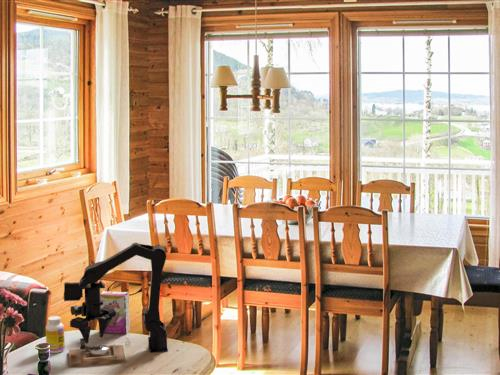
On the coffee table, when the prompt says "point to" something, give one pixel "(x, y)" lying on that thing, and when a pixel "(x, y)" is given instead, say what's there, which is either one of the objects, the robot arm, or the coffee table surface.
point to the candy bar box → (117, 311)
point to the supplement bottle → (55, 334)
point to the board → (84, 359)
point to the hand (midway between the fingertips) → (94, 339)
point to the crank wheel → (95, 349)
